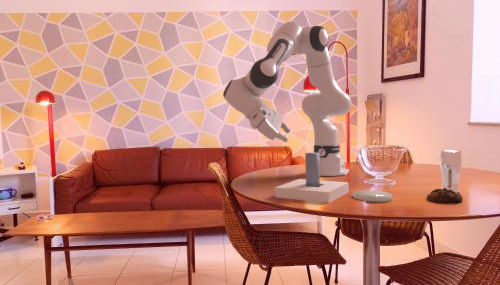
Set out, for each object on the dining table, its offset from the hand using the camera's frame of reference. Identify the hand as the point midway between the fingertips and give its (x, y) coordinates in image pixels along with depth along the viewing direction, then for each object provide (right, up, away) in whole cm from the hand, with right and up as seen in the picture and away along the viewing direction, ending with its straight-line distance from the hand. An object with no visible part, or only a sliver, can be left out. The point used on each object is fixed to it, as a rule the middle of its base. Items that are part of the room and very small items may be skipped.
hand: (288, 136), depth 154 cm
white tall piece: (+59, -21, -5) cm, 63 cm away
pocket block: (+8, -22, -7) cm, 24 cm away
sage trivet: (+28, -22, -14) cm, 38 cm away
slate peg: (+8, -21, -7) cm, 24 cm away
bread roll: (+51, -22, -18) cm, 58 cm away
